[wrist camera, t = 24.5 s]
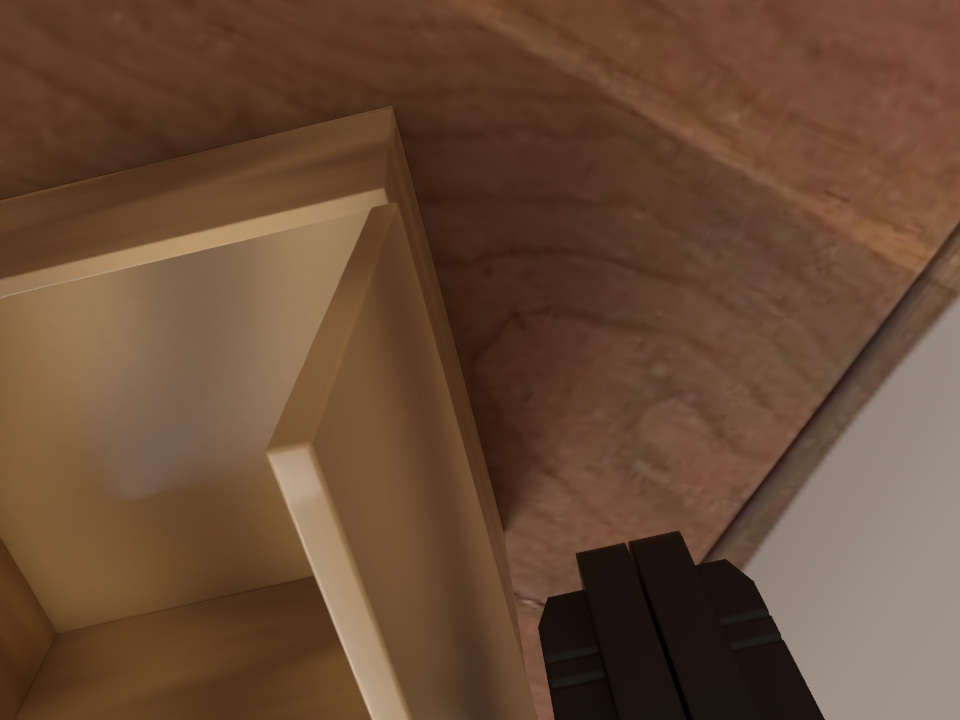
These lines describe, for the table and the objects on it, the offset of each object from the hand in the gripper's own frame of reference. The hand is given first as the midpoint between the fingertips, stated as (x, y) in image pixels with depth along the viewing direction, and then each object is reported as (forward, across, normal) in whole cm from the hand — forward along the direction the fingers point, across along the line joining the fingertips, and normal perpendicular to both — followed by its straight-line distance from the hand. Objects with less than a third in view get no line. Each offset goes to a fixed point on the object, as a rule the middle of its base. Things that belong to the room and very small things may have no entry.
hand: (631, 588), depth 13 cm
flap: (-1, +3, 0) cm, 3 cm away
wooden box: (+9, +8, 0) cm, 13 cm away
